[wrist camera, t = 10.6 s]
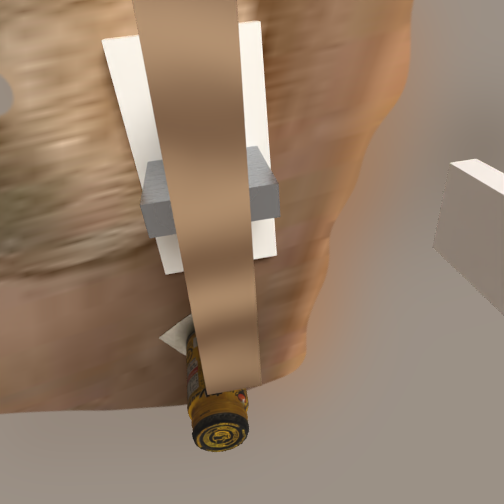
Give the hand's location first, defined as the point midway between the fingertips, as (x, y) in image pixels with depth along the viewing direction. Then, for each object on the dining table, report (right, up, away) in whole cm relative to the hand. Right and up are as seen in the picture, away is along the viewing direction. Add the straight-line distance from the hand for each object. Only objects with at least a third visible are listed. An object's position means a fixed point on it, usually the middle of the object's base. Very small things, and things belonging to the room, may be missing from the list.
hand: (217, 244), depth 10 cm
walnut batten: (-2, +2, +15) cm, 15 cm away
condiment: (-4, -10, +35) cm, 36 cm away
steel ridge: (-3, +7, +22) cm, 23 cm away
